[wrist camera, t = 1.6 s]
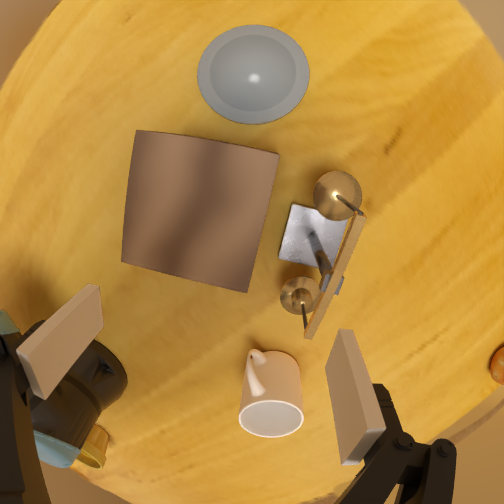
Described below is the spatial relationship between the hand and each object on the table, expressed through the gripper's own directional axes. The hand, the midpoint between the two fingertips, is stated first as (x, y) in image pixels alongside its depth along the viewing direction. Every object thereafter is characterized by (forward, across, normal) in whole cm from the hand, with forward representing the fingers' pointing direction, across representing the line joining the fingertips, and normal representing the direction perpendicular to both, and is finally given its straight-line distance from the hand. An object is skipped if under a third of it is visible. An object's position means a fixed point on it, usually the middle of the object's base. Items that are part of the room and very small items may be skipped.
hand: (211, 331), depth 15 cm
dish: (+23, -2, +18) cm, 30 cm away
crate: (+23, -4, +3) cm, 24 cm away
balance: (+23, +8, 0) cm, 25 cm away
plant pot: (+23, -31, -58) cm, 69 cm away
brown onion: (+24, +56, -18) cm, 63 cm away
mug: (+24, +6, -21) cm, 32 cm away
